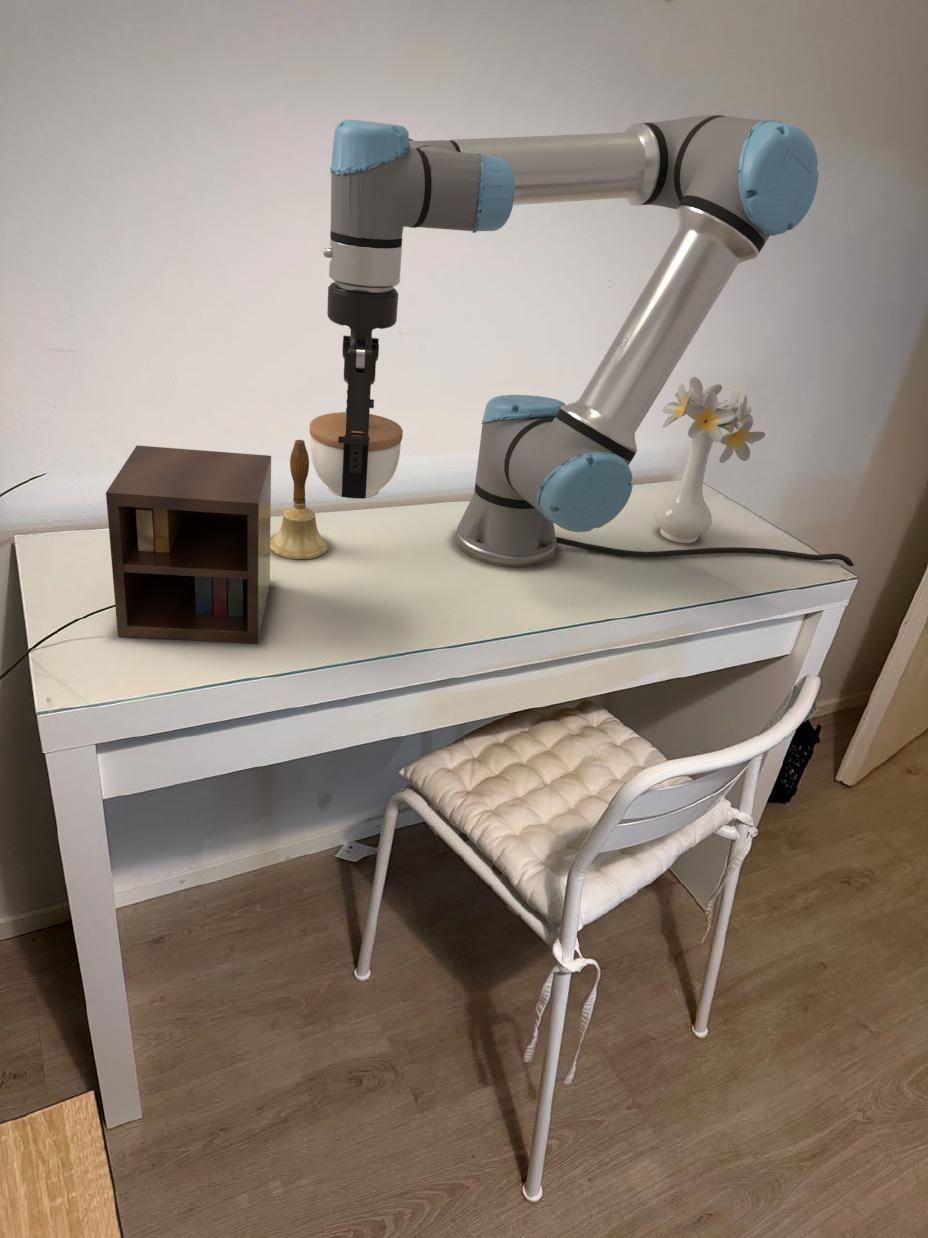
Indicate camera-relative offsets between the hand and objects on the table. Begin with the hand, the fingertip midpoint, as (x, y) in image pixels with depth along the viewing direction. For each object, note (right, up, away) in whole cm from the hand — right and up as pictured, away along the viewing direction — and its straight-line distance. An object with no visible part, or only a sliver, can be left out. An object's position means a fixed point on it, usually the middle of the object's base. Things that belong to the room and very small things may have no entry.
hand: (354, 478), depth 109 cm
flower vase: (+49, -3, +43) cm, 66 cm away
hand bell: (-11, -6, +23) cm, 27 cm away
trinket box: (0, -1, +1) cm, 2 cm away
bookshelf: (-20, -15, +5) cm, 26 cm away
